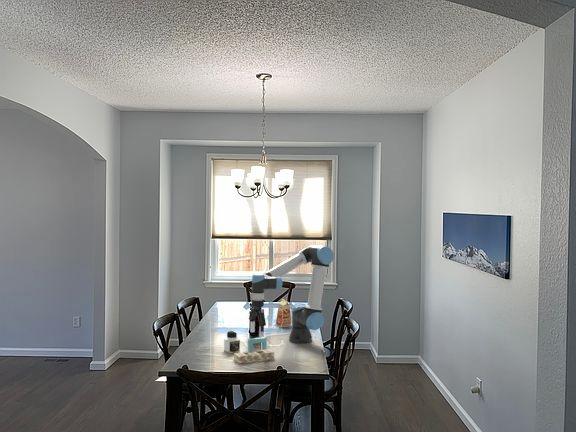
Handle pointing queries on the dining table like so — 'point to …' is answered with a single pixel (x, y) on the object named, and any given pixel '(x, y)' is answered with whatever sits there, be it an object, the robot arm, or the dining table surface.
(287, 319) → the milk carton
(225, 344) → the medicine bottle
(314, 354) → the dining table surface
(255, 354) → the cream toy brick
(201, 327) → the dining table surface
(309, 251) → the robot arm
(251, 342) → the teal arch block
